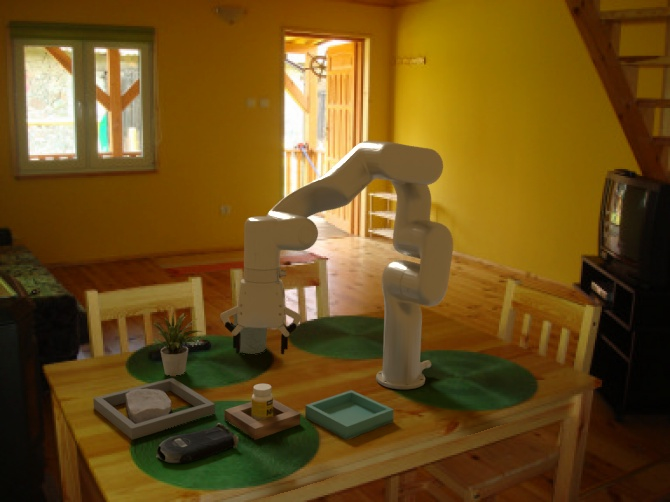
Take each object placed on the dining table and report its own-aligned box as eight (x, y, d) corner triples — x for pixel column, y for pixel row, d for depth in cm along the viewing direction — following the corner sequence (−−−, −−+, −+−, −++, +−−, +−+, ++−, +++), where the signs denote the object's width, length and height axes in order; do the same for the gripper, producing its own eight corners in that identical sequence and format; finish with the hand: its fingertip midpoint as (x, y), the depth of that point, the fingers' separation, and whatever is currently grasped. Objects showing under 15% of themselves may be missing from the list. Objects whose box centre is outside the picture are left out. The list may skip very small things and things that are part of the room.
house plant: (159, 389, 172) (157, 325, 169) (134, 372, 182) (131, 312, 179) (209, 375, 181) (208, 315, 178) (183, 360, 192) (181, 303, 188)
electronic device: (215, 439, 150) (149, 449, 141) (219, 416, 149) (153, 424, 140) (236, 462, 143) (168, 474, 134) (241, 438, 142) (172, 448, 133)
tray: (351, 401, 167) (351, 390, 166) (393, 421, 157) (393, 409, 156) (305, 417, 158) (305, 405, 157) (346, 440, 148) (346, 426, 147)
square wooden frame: (268, 406, 163) (268, 396, 163) (300, 424, 154) (300, 413, 154) (224, 420, 156) (224, 409, 155) (255, 439, 147) (255, 428, 146)
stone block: (164, 407, 167) (121, 405, 162) (168, 388, 166) (125, 385, 162) (173, 429, 156) (127, 428, 152) (177, 409, 155) (131, 407, 151)
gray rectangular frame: (172, 387, 173) (172, 377, 173) (215, 414, 159) (214, 404, 158) (93, 408, 160) (93, 397, 160) (132, 439, 146) (131, 428, 145)
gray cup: (239, 343, 207) (239, 304, 205) (272, 345, 206) (272, 306, 203) (229, 354, 197) (229, 313, 195) (264, 357, 196) (264, 316, 194)
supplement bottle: (269, 428, 152) (269, 392, 151) (248, 425, 153) (248, 389, 152) (275, 419, 157) (275, 383, 155) (255, 416, 158) (255, 381, 156)
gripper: (302, 272, 153) (300, 347, 156) (222, 270, 152) (222, 345, 155) (302, 280, 145) (300, 358, 148) (218, 278, 144) (218, 357, 147)
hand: (260, 351), depth 152 cm, fingers open, 9 cm apart
